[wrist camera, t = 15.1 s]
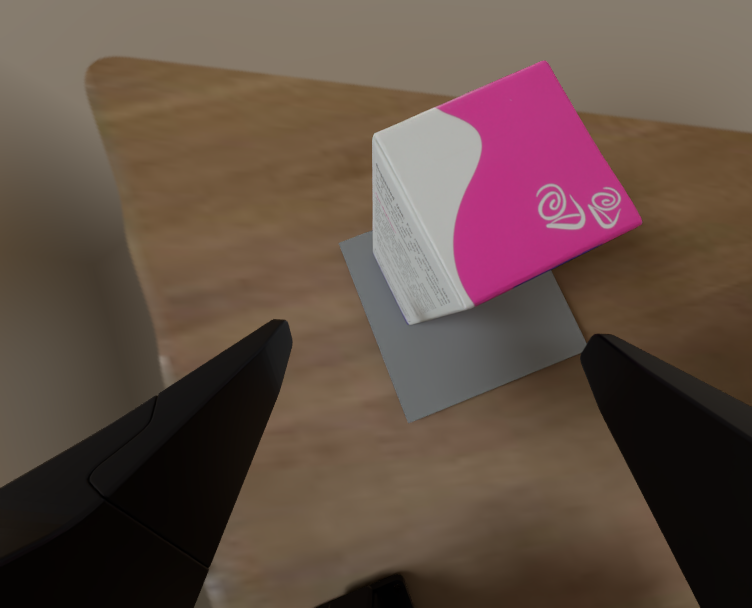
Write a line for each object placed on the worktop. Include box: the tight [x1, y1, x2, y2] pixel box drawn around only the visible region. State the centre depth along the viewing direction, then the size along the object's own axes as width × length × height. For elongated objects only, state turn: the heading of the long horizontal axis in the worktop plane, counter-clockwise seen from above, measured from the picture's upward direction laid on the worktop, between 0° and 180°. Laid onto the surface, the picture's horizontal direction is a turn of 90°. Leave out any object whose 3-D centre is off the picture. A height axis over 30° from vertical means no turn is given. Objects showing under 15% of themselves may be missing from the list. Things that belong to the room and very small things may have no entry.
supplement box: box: [372, 61, 642, 325], centre depth 13 cm, size 6×6×12 cm
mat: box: [339, 230, 587, 423], centre depth 19 cm, size 13×13×1 cm
